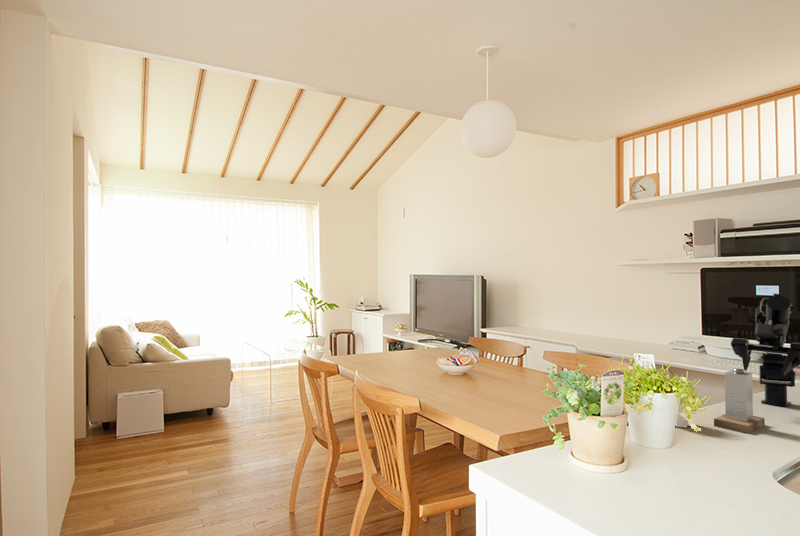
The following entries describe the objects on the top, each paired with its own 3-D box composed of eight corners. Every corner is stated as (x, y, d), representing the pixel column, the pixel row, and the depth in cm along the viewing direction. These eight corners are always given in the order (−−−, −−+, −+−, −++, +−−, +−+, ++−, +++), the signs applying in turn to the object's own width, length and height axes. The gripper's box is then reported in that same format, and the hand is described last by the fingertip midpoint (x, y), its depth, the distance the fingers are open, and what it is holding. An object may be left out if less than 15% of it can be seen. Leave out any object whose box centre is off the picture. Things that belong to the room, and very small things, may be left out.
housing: (731, 414, 137) (731, 367, 137) (753, 418, 133) (752, 369, 134) (725, 418, 134) (724, 369, 134) (747, 422, 130) (746, 371, 130)
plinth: (731, 418, 140) (731, 411, 140) (764, 425, 134) (764, 417, 134) (714, 426, 133) (713, 418, 133) (748, 433, 127) (747, 425, 127)
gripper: (732, 312, 152) (719, 351, 145) (808, 315, 137) (797, 359, 130) (741, 334, 157) (729, 373, 150) (816, 340, 142) (806, 384, 135)
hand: (763, 372), depth 141 cm, fingers open, 9 cm apart
